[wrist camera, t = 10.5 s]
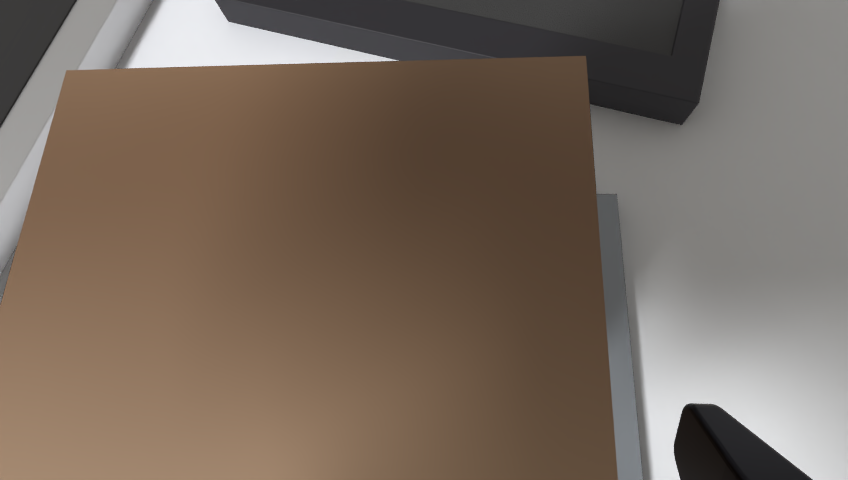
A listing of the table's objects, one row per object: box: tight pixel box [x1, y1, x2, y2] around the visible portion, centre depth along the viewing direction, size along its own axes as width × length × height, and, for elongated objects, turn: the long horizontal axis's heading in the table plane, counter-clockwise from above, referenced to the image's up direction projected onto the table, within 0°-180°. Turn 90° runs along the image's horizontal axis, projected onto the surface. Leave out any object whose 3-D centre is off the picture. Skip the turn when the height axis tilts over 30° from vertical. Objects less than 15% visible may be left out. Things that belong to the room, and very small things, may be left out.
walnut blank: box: [0, 56, 618, 480], centre depth 9 cm, size 4×4×12 cm
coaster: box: [596, 194, 643, 480], centre depth 15 cm, size 12×12×1 cm
